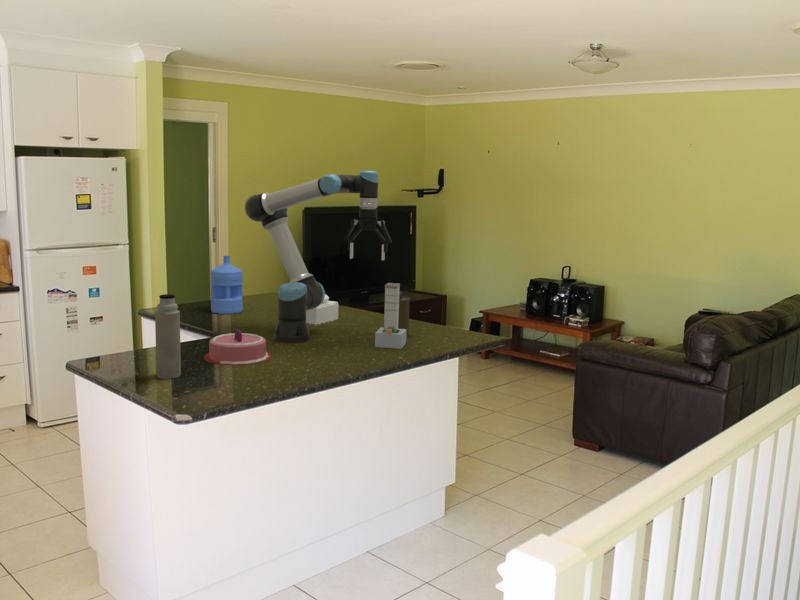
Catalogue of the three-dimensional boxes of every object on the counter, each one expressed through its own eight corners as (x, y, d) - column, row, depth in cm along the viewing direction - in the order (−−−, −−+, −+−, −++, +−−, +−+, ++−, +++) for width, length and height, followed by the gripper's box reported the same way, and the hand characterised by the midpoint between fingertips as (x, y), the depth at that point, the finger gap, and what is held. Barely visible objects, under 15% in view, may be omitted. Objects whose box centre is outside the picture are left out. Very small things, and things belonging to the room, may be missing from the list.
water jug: (210, 309, 371) (209, 254, 366) (241, 308, 375) (241, 254, 371) (211, 315, 356) (211, 257, 351) (244, 314, 361) (244, 257, 356)
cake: (280, 362, 273) (280, 334, 271) (213, 368, 262) (212, 339, 260) (259, 347, 295) (259, 321, 293) (197, 353, 283) (196, 326, 282)
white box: (316, 325, 340) (316, 292, 337) (286, 320, 349) (286, 287, 346) (338, 320, 355) (338, 287, 352) (308, 315, 364) (309, 283, 361)
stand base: (371, 349, 296) (372, 328, 295) (378, 342, 309) (379, 322, 307) (403, 351, 294) (404, 331, 293) (408, 344, 307) (409, 324, 305)
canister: (406, 340, 315) (407, 294, 311) (382, 338, 317) (383, 293, 313) (411, 335, 325) (412, 290, 322) (388, 333, 327) (389, 289, 324)
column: (383, 331, 297) (384, 285, 294) (386, 328, 304) (388, 282, 301) (395, 332, 296) (397, 285, 293) (398, 329, 303) (400, 283, 300)
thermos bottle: (160, 372, 254) (158, 292, 249) (183, 372, 254) (182, 293, 250) (153, 378, 246) (151, 296, 241) (177, 379, 247) (175, 297, 242)
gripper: (336, 207, 302) (336, 258, 306) (396, 209, 298) (394, 261, 302) (341, 206, 310) (340, 256, 313) (399, 209, 305) (397, 259, 309)
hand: (367, 259), depth 307 cm, fingers open, 13 cm apart
